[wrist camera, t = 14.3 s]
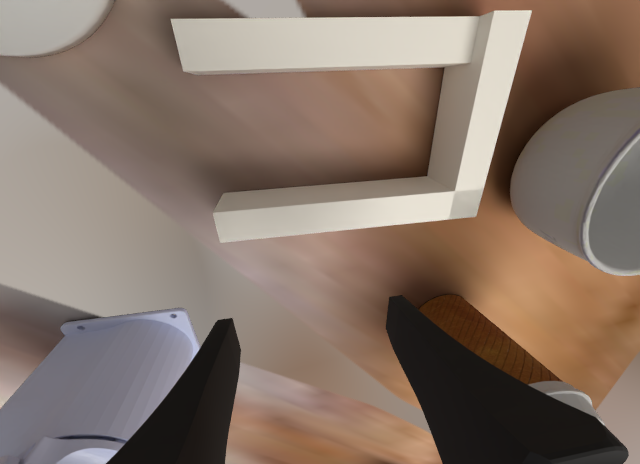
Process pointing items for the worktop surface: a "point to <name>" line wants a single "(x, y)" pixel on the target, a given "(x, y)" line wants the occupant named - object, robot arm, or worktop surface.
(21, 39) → the dish
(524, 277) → the worktop surface
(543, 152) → the teacup
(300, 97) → the worktop surface
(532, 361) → the disposable coffee cup
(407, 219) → the frame
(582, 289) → the worktop surface
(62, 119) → the worktop surface
